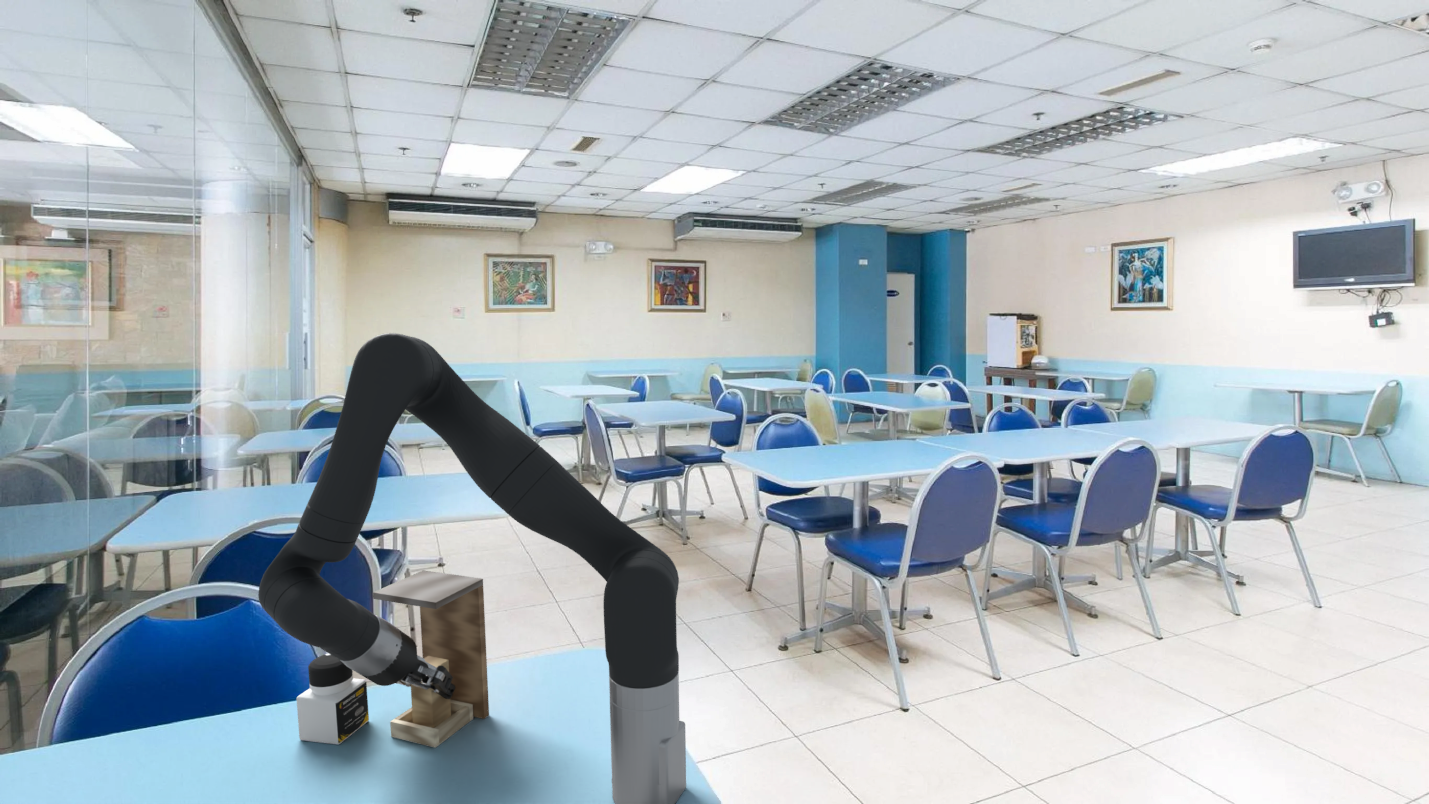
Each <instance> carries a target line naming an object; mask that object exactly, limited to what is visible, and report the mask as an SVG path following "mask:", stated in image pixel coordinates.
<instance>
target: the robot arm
mask: <svg viewBox="0 0 1429 804" xmlns="http://www.w3.org/2000/svg"><path fill="white" fill-rule="evenodd" d="M342 404H343V405H342V408H341V412H340V416H339V419H338V422H337V425H336V429H335V432H334V435H333V438H332V441H331V446H330V447H329V451H328V454H327V456H326V459H325V461H324V464H323V467H322V470H321V472H320V474H319V476H318V479H317V482H316V484H315V486H314V488H313V491H312V493H311V494H310V497H309V500H308V501H307V504H306V506H305V508H304V511H303V513H302V515H301V517H300V520H299V523H298V525H297V527H296V530H295V532H294V533H293V535H292V537H290V539H289V540H288V541H287V542H286V543H285V544H284V545H283V547H282V548H281V549H280V551H279V552H278V553H277V555H276V556H275V558H274V559H273V560H272V562H271V563H270V564H269V565H268V566H267V568H266V570H265V571H264V573H263V575H262V578H261V579H260V583H259V588H258V592H257V593H258V595H257V597H258V601H259V604H260V606H261V608H262V609H263V610H264V611H265V612H266V613H267V614H268V616H270V618H272V620H273V621H274V622H275V623H276V624H277V625H278V626H279V627H280V628H281V629H282V630H283V631H284V632H285V633H287V635H289V636H291V637H293V638H294V639H296V640H297V641H299V642H302V643H304V644H307V645H310V646H313V647H317V648H320V649H321V650H323V651H324V652H325V653H326V654H328V653H329V654H331V655H332V656H334V657H336V658H337V659H339V660H340V661H341V662H343V663H344V664H345V665H346V666H347V667H349V668H350V669H352V670H353V672H355V673H357V674H358V675H360V676H361V677H363V678H365V679H367V680H369V681H370V682H372V683H373V684H375V685H378V686H383V687H386V686H391V685H395V684H397V685H401V686H405V687H406V688H411V684H412V685H414V686H416V687H418V688H420V689H424V690H427V689H430V690H431V691H433V692H434V693H437V694H439V695H440V696H442V697H444V698H445V699H450V698H451V697H452V695H453V693H454V691H455V685H453V684H452V683H451V681H452V679H453V677H452V675H451V674H450V673H449V672H448V670H447V669H446V668H445V667H444V666H438V667H437V668H436V667H435V666H433V665H431V664H429V663H427V662H426V661H425V659H424V658H423V656H420V655H418V649H417V645H416V643H415V640H414V639H413V638H412V637H411V636H409V635H408V634H407V633H405V632H403V631H402V630H401V629H399V628H398V627H396V626H395V625H393V624H392V623H391V622H390V621H388V620H387V619H384V618H383V617H380V616H379V615H377V614H374V613H373V612H371V610H369V609H368V608H366V607H365V606H364V605H361V603H358V602H357V601H354V600H352V599H350V598H346V597H345V596H344V595H343V594H341V593H340V592H339V591H338V590H336V589H335V588H334V587H333V586H332V585H331V584H330V583H329V582H327V580H325V579H324V578H323V577H322V576H321V575H320V574H321V571H322V569H323V567H324V566H325V564H326V563H338V562H342V561H344V560H346V559H347V558H348V557H349V555H350V554H351V553H352V550H353V549H354V547H355V545H356V542H357V539H358V537H359V536H360V533H361V531H362V528H363V527H364V524H365V522H366V520H367V517H368V514H369V512H370V510H371V507H372V505H373V500H374V498H375V493H376V489H377V485H378V478H379V473H380V468H381V462H382V459H383V455H384V452H385V449H386V446H387V443H388V442H389V439H390V436H391V434H392V433H393V430H394V429H395V426H396V425H397V423H398V422H399V420H400V418H402V417H401V416H402V415H403V413H404V412H405V411H407V412H409V414H411V415H413V417H416V418H417V419H418V420H419V421H420V422H421V423H423V424H424V425H425V426H427V427H429V429H431V430H432V431H433V432H434V433H435V434H436V435H438V436H439V437H440V438H441V439H442V440H443V441H444V442H445V443H446V445H448V447H449V448H450V449H451V451H452V452H453V453H454V455H455V456H456V458H457V460H458V461H459V463H460V464H461V466H462V467H463V468H464V470H465V471H466V473H467V474H468V476H469V477H470V479H472V481H473V482H474V483H475V484H476V486H478V488H479V489H480V490H481V491H482V492H483V493H484V494H485V495H486V496H487V497H488V498H489V499H490V500H491V501H492V502H493V503H494V504H496V505H497V506H498V507H499V508H500V509H501V510H502V511H504V513H506V514H507V515H508V516H509V517H511V518H512V519H513V520H514V521H516V522H517V523H519V524H520V525H522V526H523V527H525V528H527V529H529V530H530V531H532V532H534V533H537V534H539V535H540V536H542V537H544V538H547V539H549V540H552V541H554V542H556V543H558V544H560V545H563V546H565V547H566V548H568V549H570V550H572V552H574V553H576V554H577V555H579V556H580V557H581V558H582V559H583V560H585V561H586V562H587V563H588V564H589V565H590V566H591V567H592V568H593V569H594V570H595V571H596V572H597V573H598V575H600V576H601V578H603V579H604V581H606V583H605V586H604V587H605V588H604V590H603V591H604V592H603V626H604V627H603V629H604V649H605V657H606V661H607V663H608V674H609V675H608V676H609V677H608V680H609V681H608V683H609V720H610V722H609V723H610V724H609V725H610V761H611V765H610V766H611V785H612V786H611V789H612V790H611V791H612V792H611V793H612V801H613V803H614V804H677V801H678V800H679V799H680V797H681V796H682V794H683V793H684V792H685V790H686V789H687V751H686V742H687V741H686V722H685V721H682V720H680V680H679V677H680V676H679V675H680V674H679V671H680V668H679V667H680V665H679V659H680V656H679V651H678V645H677V644H678V642H677V640H678V639H677V597H678V591H679V583H680V578H679V572H678V570H677V567H676V564H675V563H674V561H673V559H671V557H670V556H669V555H668V554H667V553H666V552H665V551H663V550H662V549H661V548H659V547H658V546H656V545H655V544H654V543H652V541H649V540H648V539H647V538H646V537H644V536H643V535H641V534H640V533H638V532H637V531H636V530H635V529H633V528H632V527H630V526H628V525H627V524H626V523H625V522H623V521H622V520H621V519H619V518H618V517H617V516H615V515H614V514H613V513H612V512H611V511H609V509H608V508H606V506H605V505H603V504H602V503H601V502H600V500H599V499H598V498H597V497H595V496H594V494H592V492H591V491H589V490H588V489H587V488H586V487H585V486H584V485H583V484H582V483H581V482H580V481H579V480H578V479H576V478H575V477H574V476H573V475H572V474H571V473H570V472H569V471H568V470H567V469H566V468H565V467H564V466H563V465H562V464H561V463H560V462H559V461H558V460H556V459H555V458H554V456H552V455H551V454H550V453H549V452H547V451H546V449H545V448H543V447H542V446H540V445H539V443H537V442H536V441H535V440H534V439H533V438H531V437H530V436H529V435H528V434H526V433H525V432H524V431H523V430H521V429H520V428H519V427H518V426H517V425H516V424H514V423H513V422H512V421H510V420H509V419H508V418H506V416H504V415H503V414H501V413H500V412H498V411H497V410H496V409H494V408H493V407H491V406H490V405H489V404H488V403H487V402H485V401H484V400H483V399H482V398H480V396H479V395H477V393H476V392H474V391H473V389H472V388H471V387H469V386H468V384H467V383H466V382H465V381H464V380H463V379H462V377H460V376H459V374H458V373H457V372H456V371H455V370H454V369H453V368H452V367H451V365H450V364H449V363H448V362H447V361H446V359H444V357H443V356H442V355H441V354H440V353H439V352H438V350H436V349H435V348H434V347H433V346H432V345H430V344H429V343H428V342H426V341H425V340H422V339H420V338H418V337H415V336H410V335H406V334H402V333H396V332H389V333H388V332H387V333H382V334H378V335H375V336H373V337H371V338H370V339H368V340H366V342H364V343H363V344H362V345H361V347H360V348H359V349H358V350H357V353H356V356H355V358H354V360H353V364H352V367H351V371H350V375H349V379H348V383H347V388H346V391H345V396H344V400H343V403H342ZM420 682H422V683H420ZM431 684H433V685H434V686H433V685H431Z"/></svg>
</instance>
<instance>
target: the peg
mask: <svg viewBox="0 0 1429 804" xmlns="http://www.w3.org/2000/svg"><path fill="white" fill-rule="evenodd" d="M424 659H425V661H426V662H427V663H429V664H431V665H433V666H435V667H436V668H437V667H438V666H444V667H445V668H446V669H447V670H448V672H449V660H447V659H442V658H437V657H432V656H427V657H426V658H424ZM420 683H422V682H420ZM431 685H433V684H431ZM433 686H434V685H433ZM410 693H411V694H410V695H411V697H410V699H411V707H412V719H413V723H414V724H418V725H422V726H426V727H431V728H435V727H437V726H438V725H439V724H441V723H442V722H444V721H445V720H446V719H448V718H449V717H451V704H450V699H445V698H444V697H442V696H440V695H439V694H437V693H434V692H433V691H431V690H430V689H427V690H424V689H420V688H418V687H416V686H414V685H412V684H411V687H410Z"/></svg>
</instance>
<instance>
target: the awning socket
mask: <svg viewBox="0 0 1429 804" xmlns="http://www.w3.org/2000/svg"><path fill="white" fill-rule="evenodd" d="M484 596H485V593H484V579H483V578H481V577H474V576H465V575H459V574H452V573H446V572H437V571H431V570H421V571H418V572H416V573H414V574H412V575H408V576H407V577H405V578H403V579H400V580H398V581H396V582H393V583H391V584H389V585H387V586H384V587H383V588H379V589H376V590H375V591H373V592H372V599H373V600H377V601H378V600H379V601H384V602H390V603H398V604H402V605H403V604H404V605H409V606H415V607H419V615H420V617H419V618H420V632H421V633H420V634H421V649H422V654H421V655H422V658H426V657H427V656H432V657H437V658H442V659H447V660H449V673H450V674H451V675H452V677H453V679H452V681H451V683H452V684H453V685H455V691H454V693H453V695H452V697H451V698H450V704H451V717H449V718H448V719H446V720H445V721H444V722H442V723H441V724H439V725H438V726H437V727H435V728H431V727H426V726H422V725H418V724H414V723H413V719H412V706H411V707H410V708H408V709H407V710H405V711H404V712H402V713H401V714H400V715H397V716H396V717H394V719H392V720H390V722H389V723H390V735H391V736H390V737H391V738H394V739H399V740H402V741H407V742H411V743H414V744H419V745H423V746H427V747H431V748H434V749H436V748H437V747H438V746H440V745H441V744H442V743H444V742H445V741H447V740H448V739H449V738H451V737H452V736H453V735H454V734H456V733H457V732H458V731H460V730H461V729H462V728H463V727H465V726H466V725H467V724H469V723H470V722H472V720H474V718H478V719H482V720H485V719H486V718H488V717H489V716H490V704H489V686H488V685H489V684H488V683H489V681H488V663H487V662H488V661H487V659H488V658H487V640H486V639H487V638H486V622H485V621H486V618H485V617H486V616H485V615H486V614H485V597H484Z"/></svg>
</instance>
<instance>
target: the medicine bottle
mask: <svg viewBox="0 0 1429 804" xmlns="http://www.w3.org/2000/svg"><path fill="white" fill-rule="evenodd" d="M307 668H308V681H309V682H308V683H309V688H308V689H306V690H304V691H303V692H302V693H300V694H299V695H298V696H297V697H296V709H297V711H296V712H297V723H298V734H299V735H298V738H299V740H300V741H306V742H314V743H321V744H331V745H341V744H342V743H343V742H344V741H346V740H347V739H348V738H349V737H351V736H352V735H354V733H356V732H357V731H358V730H359V729H360V728H361V727H364V725H365V724H366V723H368V722H369V721H370V717H369V701H368V686H367V680H366V678H365V679H362V678H354V671H353V670H352V669H350V668H349V667H347V666H346V665H345V664H344V663H343V662H341V661H340V660H339V659H337V658H336V657H334V656H332V655H331V654H329V653H325V654H322V655H320V656H318V657H316V658H314V659H313V660H312V661H310V663H309V664H308V667H307Z"/></svg>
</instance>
